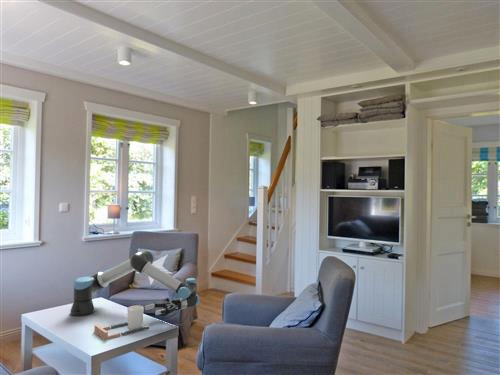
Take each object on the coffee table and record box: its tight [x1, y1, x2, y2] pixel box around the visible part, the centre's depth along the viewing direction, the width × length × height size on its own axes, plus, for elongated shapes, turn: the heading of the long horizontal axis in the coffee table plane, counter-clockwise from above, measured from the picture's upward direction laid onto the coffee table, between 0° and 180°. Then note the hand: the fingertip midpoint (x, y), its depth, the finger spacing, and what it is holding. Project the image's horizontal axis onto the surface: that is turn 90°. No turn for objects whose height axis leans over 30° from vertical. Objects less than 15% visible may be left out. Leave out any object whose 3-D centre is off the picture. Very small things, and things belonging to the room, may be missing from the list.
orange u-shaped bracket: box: [93, 324, 122, 341], centre depth 220 cm, size 16×9×4 cm, turn 43°
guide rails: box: [110, 321, 150, 336], centre depth 229 cm, size 16×17×2 cm
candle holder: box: [126, 304, 145, 330], centre depth 232 cm, size 10×10×12 cm
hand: (150, 310), depth 239 cm, fingers open, 13 cm apart
